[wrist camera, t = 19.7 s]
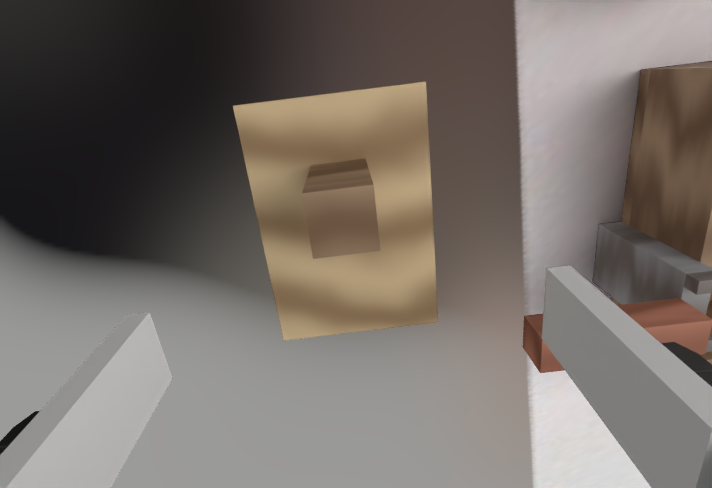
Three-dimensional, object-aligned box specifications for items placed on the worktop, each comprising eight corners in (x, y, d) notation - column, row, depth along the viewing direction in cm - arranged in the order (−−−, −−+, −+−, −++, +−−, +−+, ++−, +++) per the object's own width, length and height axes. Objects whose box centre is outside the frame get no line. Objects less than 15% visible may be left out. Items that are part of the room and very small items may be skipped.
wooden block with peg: (236, 105, 30) (195, 116, 21) (422, 81, 30) (455, 83, 21) (285, 332, 37) (269, 409, 29) (435, 314, 37) (463, 386, 29)
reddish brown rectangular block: (524, 316, 26) (542, 339, 23) (679, 297, 26) (713, 319, 23) (522, 347, 26) (540, 373, 24) (673, 329, 26) (705, 354, 24)
